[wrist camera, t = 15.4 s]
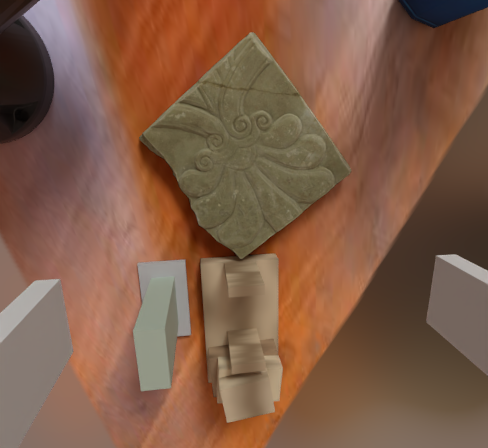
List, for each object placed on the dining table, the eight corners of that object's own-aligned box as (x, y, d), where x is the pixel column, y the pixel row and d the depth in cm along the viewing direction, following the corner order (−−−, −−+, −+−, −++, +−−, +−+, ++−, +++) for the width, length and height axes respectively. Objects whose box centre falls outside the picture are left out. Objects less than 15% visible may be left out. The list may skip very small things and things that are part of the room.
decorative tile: (250, 33, 39) (254, 24, 35) (345, 169, 45) (357, 173, 41) (128, 140, 40) (121, 142, 37) (235, 258, 46) (238, 269, 43)
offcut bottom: (213, 383, 48) (213, 397, 46) (208, 347, 47) (208, 359, 44) (275, 374, 49) (279, 387, 47) (273, 338, 47) (277, 349, 45)
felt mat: (147, 336, 47) (146, 339, 47) (138, 262, 44) (137, 264, 44) (191, 332, 48) (190, 335, 47) (185, 259, 45) (184, 261, 44)
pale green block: (156, 325, 46) (141, 391, 35) (151, 278, 44) (132, 331, 33) (178, 323, 47) (170, 388, 35) (174, 276, 45) (164, 328, 33)
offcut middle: (216, 388, 46) (217, 403, 43) (217, 356, 44) (218, 369, 42) (275, 386, 47) (279, 401, 44) (278, 355, 45) (282, 368, 43)
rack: (208, 373, 50) (209, 424, 41) (200, 258, 45) (200, 289, 36) (275, 366, 51) (290, 414, 42) (275, 253, 46) (291, 282, 37)
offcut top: (226, 409, 44) (227, 422, 42) (218, 378, 42) (219, 390, 40) (271, 399, 44) (275, 411, 42) (266, 367, 42) (269, 378, 41)
